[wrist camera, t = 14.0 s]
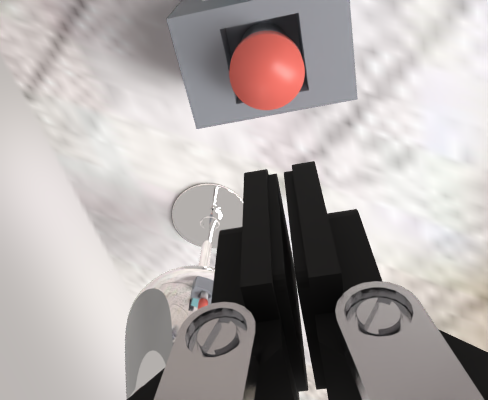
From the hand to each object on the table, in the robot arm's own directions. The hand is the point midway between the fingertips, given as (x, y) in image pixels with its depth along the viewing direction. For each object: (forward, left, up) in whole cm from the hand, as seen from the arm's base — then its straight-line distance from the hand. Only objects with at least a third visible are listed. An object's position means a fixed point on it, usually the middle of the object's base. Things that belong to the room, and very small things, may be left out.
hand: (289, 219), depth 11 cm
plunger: (0, 0, -18) cm, 18 cm away
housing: (0, 0, -23) cm, 23 cm away
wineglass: (+14, -7, -23) cm, 28 cm away
